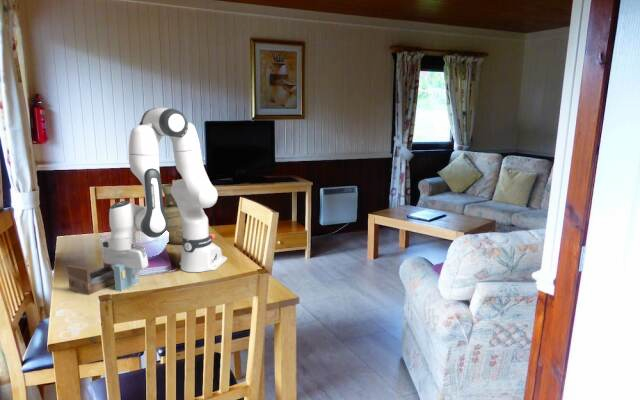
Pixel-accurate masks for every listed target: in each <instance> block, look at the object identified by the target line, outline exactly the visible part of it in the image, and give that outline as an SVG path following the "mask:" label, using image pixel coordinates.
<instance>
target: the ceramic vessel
mask: <svg viewBox="0 0 640 400" xmlns="http://www.w3.org/2000/svg"><path fill="white" fill-rule="evenodd" d="M161 185H162V184H161ZM172 185H173V183H165V184H163V185H162V193H163V194H164V203H165V204H163V207H164V212H165V214H166V216H167V219H168V227H167V231H168V232H169V242H168V243H167V244H170V245H182V237H183V230H182V219H181V215H180V212H179V209H178V206H177V203H176V201H175V199H174V198H173V196H172V194H171V187H172Z"/></svg>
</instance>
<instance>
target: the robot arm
mask: <svg viewBox="0 0 640 400" xmlns="http://www.w3.org/2000/svg"><path fill="white" fill-rule="evenodd" d="M162 137H169V139H170V141H171V145H172V153H173V156H174V163H175V169H176V170H177V172H178V173H179V174H180V176H181V179H177V180H175V181H174V182H173V183H172V184H173V185H172V187H171V194H172V196H173V198H174V199H175V201H176V203H177V206H178V209H179V212H180V215H181V219H182V230H183V237H182V244H181V246H182V247H181V250H180V251H181V253H180V254H181V255H180V257H181V258H180V261H179V266H180V270H182V272H183V271H184V272H186V273H202V272H207V271H216V270H217V269H218V268H219V267H220V266H222V265H223V264H224V263H225V262H226V261H228V257H227V256H224V255H223V253H222V252H223V251H222V248H221V247H220V246H218V245H217V244H216V243H214V242H212V240H214V239H215V238H216V234H214V233H213V234H212V233H210V231H209V230H210V229H209V218H208V216H207V215H206V213H205V210H204V209H207V208H211V207H213V206H214V205H216V203H217V201H218V196H219V193H218V191H217V188H216V187H215V186H214V185H213V184H212V182H211V181H210V177H209V176H208V174H207V171H206V169H205V166H204V161H203V157H202V151H201V149H202V148H201V143H200V138H199V135H198V132H197V129H196V127H195V125H194V124H193V123H191V122H190V121H189V122H188V121H187V118H186V117H185V115H184V114H183V112H181V111H180V110H178V109H175V108H168V107H157V108H155V107H154V108H150V109H148V110H146V111H145V112H144V114H143V115H142V117H141V119H140V122H139V124H138V125H136V126H134V127H133V128H132V129H131V130H130V135H129V139H128V141H129V142H128V164H129V168H130V171H131V172H132V174H133V175H134V176H135V177H136V178H137V179H138V180H139V182H140V183H141V185H142V187H143V191H144V202H145V203H144V205H145V206H143V205H142V206H141V205H138V204H135V203H132V201H130V200H121V201H118V202H115V203H113V204H112V205H111V206H110V208H109V213H108V214H109V215H108V216H109V217H108V220H109V228H110V232H111V233H110V238H108V239H105V240H103V241H101V243H100V245H101V247H102V248H101V258H102V262H104V263H106V264H111V267H112V269H113V270H114V267H113V266H114V265H116V264H124V265H125V267H128V268H133V269H134V271H135V273H134V274H132V276H133V277H132V278H133V279H137V278H138V279H139V276H140V275H139V274H140V272H141V271H144V269H147V268H148V267H149V259H148V255H147V251H146V249H145V248H144V247H143V246H142V245H139V244H137V240H136V232H141V233H143V234H144V235H145V236H147V237H149V238H152V239H153V238H159V237H160V236H161V235H162V234H163V233H164V232H165V231H166V230H167V227H168V219H167V216H166V214H165V212H164V207H163V206H164V199H163V198H164V197H163V196H164V195H163V190H162V177H161V173H160V149H159V148H160V146H159V145H160V142H161V140H162ZM161 237H162V236H161ZM104 263H103V264H104Z"/></svg>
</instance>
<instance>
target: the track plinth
mask: <svg viewBox="0 0 640 400" xmlns="http://www.w3.org/2000/svg"><path fill="white" fill-rule="evenodd" d="M102 262H103V261H102ZM66 268H67V276H68V277H67V279H68V286H69V291H70V292H74V293H79V294H83V295H87V296H90V295H92V294H94V293H97V292H99V291H101V290H102V289H105V288H107V287H110V286H112V285H115V278H114V270H113V269H112V267H111V264H106V263H104V262H103V267H101V268H99V269H96V270H94V271H90V269H89V268H86V267H82V266H76V265H71V264H70V265H67V266H66ZM111 284H112V285H111ZM109 285H110V286H109Z"/></svg>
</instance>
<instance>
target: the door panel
mask: <svg viewBox="0 0 640 400" xmlns="http://www.w3.org/2000/svg"><path fill="white" fill-rule="evenodd" d="M113 267H114V278H115V283H114V288H115V291H118V290H123V291H125V290H127V289H129V288H131V287H133V286H135V285H137V284H136V283H138V282H139V277H138V278H137V279H133V278H132V277H133V276H132V274H134V273H135V271H134V269H133V268H128V267H125V265H124V264H116V265H114V266H113ZM134 284H135V285H134ZM138 284H139V283H138ZM132 285H133V286H132ZM130 286H131V287H130ZM128 287H129V288H128ZM126 288H127V289H126ZM124 289H125V290H124Z"/></svg>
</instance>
